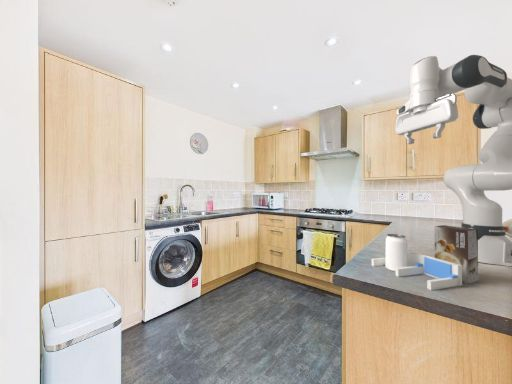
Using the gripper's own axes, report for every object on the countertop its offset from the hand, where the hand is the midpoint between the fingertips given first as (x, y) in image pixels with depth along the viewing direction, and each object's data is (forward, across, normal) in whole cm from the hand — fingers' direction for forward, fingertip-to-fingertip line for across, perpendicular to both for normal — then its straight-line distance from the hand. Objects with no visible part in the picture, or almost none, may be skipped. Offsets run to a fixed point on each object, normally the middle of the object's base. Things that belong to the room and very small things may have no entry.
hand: (423, 141), depth 79 cm
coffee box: (+46, -10, -1) cm, 48 cm away
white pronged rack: (+46, -5, +11) cm, 48 cm away
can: (+46, 0, +12) cm, 48 cm away
